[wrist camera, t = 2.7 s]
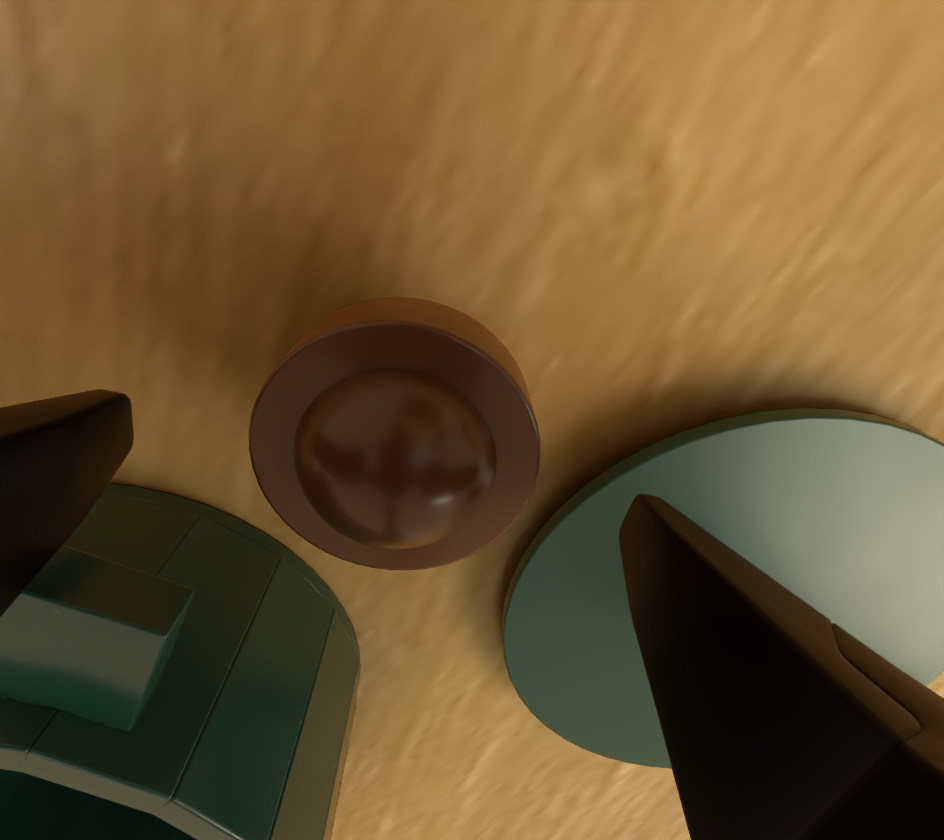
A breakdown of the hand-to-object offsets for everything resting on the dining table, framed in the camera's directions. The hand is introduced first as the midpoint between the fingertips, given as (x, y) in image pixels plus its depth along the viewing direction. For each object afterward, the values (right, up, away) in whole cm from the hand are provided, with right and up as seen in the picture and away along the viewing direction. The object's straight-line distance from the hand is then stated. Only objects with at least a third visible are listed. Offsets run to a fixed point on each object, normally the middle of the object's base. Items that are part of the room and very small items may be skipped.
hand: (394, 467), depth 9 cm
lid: (+9, -5, +6) cm, 12 cm away
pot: (-9, -7, +7) cm, 13 cm away
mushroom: (0, +2, +3) cm, 4 cm away
